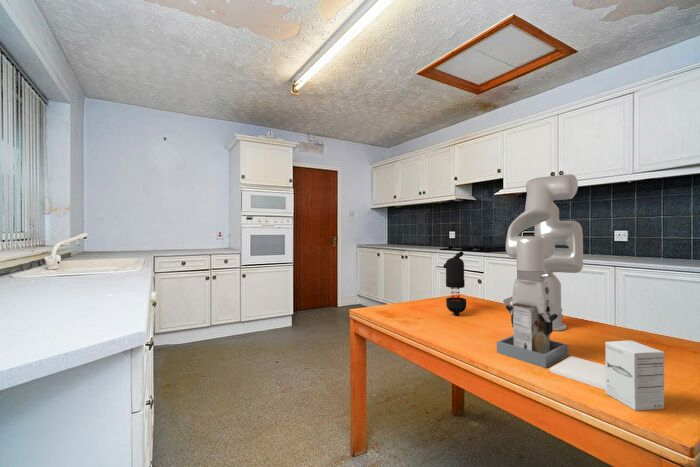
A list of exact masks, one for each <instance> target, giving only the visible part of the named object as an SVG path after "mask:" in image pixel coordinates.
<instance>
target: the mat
mask: <svg viewBox="0 0 700 467" xmlns="http://www.w3.org/2000/svg"><path fill="white" fill-rule="evenodd" d="M549 373H552V374H555V375H558V376H561V377H564V378H568V379H570V380H573V381H576V382H580V383H582V384H586V385H589V386H592V387H595V388H598V389H601V390H605V391H606V364H602V363H598V362H594V361H591V360H588V359H587V360H586V359H584V358H579V357H576V356H572V355H571V356H567V358H564V359H563V360H560V362H558V363H555V364H553V365H552V366H550V368H549Z"/></svg>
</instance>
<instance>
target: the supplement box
mask: <svg viewBox="0 0 700 467" xmlns="http://www.w3.org/2000/svg"><path fill="white" fill-rule="evenodd" d="M604 347H605V365H606V390H605V394H606V395H607V396H610V397H612V398H613V399H615V400H616V401H618V402H620V403H622V404H623V405H626V406H627V407H629V408H630V409H632V410H634V411H648V410H650V411H651V410H662V409H665V351H662V350H660V349H657V348H653V347H651V346H648V345H646V344H643V343H640V342H636V341H634V340H615V341H614V340H613V341H605V346H604Z"/></svg>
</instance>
